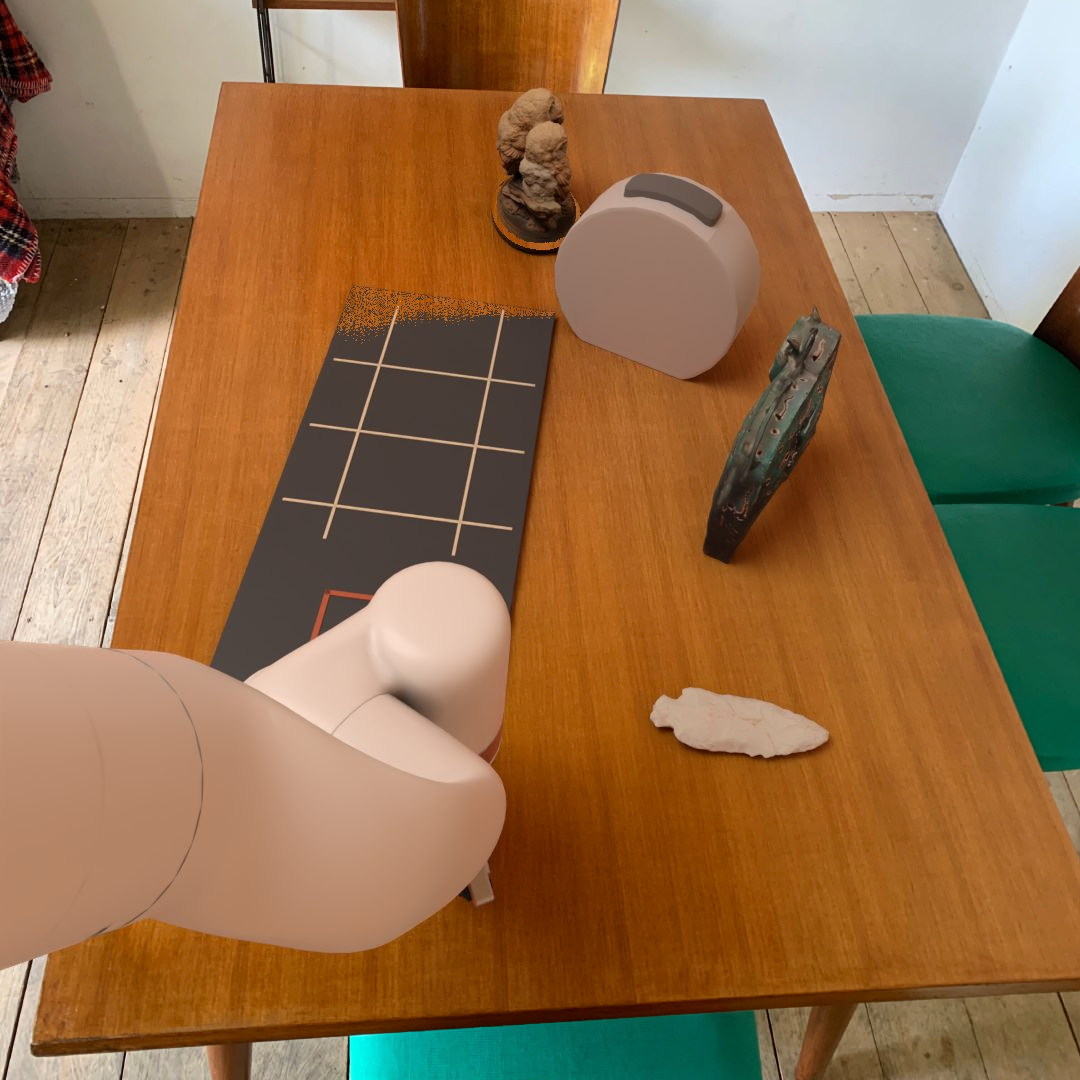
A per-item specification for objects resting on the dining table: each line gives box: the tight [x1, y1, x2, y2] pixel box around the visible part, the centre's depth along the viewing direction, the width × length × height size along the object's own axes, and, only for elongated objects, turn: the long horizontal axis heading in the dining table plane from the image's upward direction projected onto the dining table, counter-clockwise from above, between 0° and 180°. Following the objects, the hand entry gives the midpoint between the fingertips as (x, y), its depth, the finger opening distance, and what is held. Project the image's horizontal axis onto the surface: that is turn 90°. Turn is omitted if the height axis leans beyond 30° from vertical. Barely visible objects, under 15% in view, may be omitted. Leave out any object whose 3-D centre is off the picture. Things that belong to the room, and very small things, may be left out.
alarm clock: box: [554, 172, 762, 380], centre depth 99 cm, size 21×8×20 cm, turn 63°
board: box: [209, 284, 556, 682], centre depth 91 cm, size 56×24×1 cm, turn 174°
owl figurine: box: [490, 87, 576, 253], centre depth 113 cm, size 18×12×17 cm, turn 7°
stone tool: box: [649, 686, 830, 759], centre depth 77 cm, size 6×2×15 cm
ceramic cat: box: [702, 304, 842, 564], centre depth 85 cm, size 20×6×20 cm, turn 152°
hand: (443, 822), depth 69 cm, fingers open, 9 cm apart
